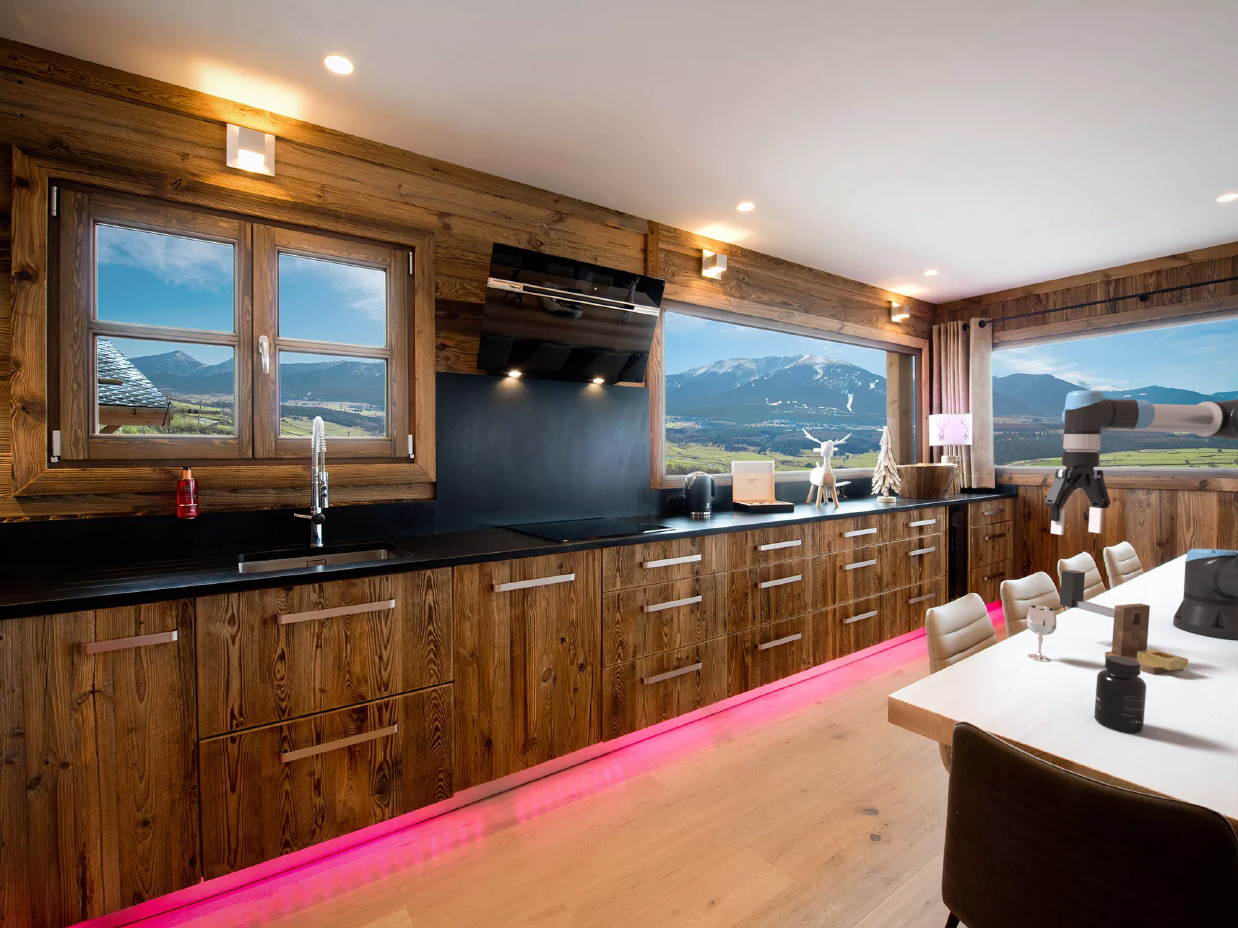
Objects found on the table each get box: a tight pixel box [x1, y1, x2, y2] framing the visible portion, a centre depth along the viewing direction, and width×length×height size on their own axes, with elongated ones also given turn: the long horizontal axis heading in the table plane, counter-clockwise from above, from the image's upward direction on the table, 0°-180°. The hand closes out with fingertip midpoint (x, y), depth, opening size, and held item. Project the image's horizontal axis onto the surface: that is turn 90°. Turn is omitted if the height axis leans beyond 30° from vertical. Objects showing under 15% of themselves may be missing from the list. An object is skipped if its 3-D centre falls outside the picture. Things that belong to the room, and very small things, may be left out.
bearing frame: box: [1104, 603, 1184, 676], centre depth 139 cm, size 10×10×13 cm
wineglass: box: [1026, 604, 1058, 662], centre depth 141 cm, size 6×6×12 cm
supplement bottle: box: [1093, 656, 1147, 734], centre depth 107 cm, size 7×7×12 cm
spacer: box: [1137, 648, 1189, 670], centre depth 135 cm, size 2×6×6 cm
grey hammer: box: [1059, 569, 1135, 622], centre depth 148 cm, size 16×4×9 cm, turn 18°
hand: (1076, 533), depth 154 cm, fingers open, 13 cm apart
